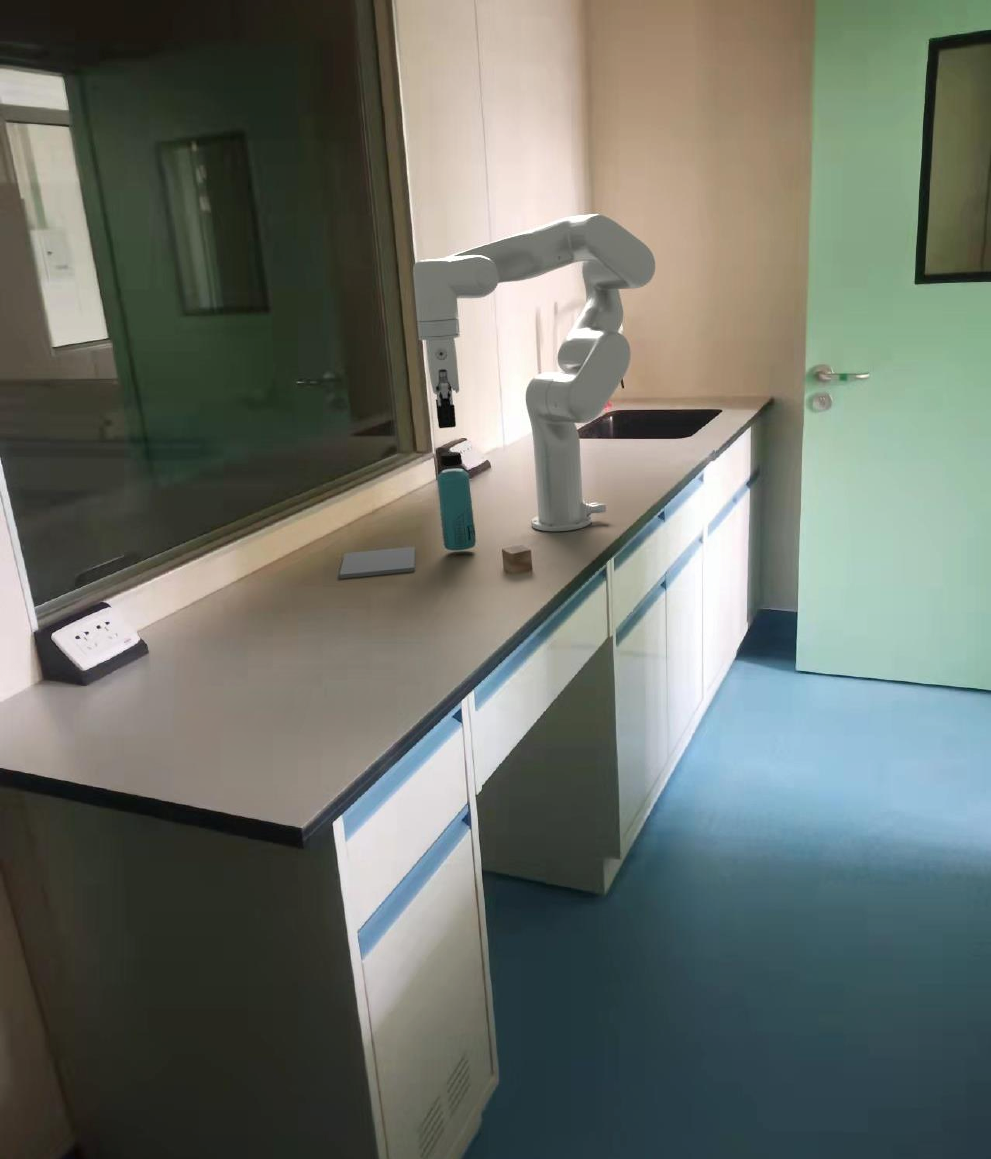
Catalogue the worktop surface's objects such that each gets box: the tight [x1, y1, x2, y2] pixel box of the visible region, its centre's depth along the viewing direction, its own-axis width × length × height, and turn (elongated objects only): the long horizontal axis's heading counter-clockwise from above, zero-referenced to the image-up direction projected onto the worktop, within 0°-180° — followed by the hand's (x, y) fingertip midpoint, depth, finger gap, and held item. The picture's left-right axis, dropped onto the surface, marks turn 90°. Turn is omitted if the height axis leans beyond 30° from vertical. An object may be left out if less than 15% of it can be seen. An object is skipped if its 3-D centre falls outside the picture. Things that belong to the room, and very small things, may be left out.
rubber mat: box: [339, 546, 416, 579], centre depth 191 cm, size 14×14×1 cm
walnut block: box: [501, 544, 533, 575], centre depth 181 cm, size 4×4×4 cm
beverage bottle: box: [436, 451, 477, 551], centre depth 191 cm, size 6×7×20 cm
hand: (446, 423), depth 186 cm, fingers open, 9 cm apart
